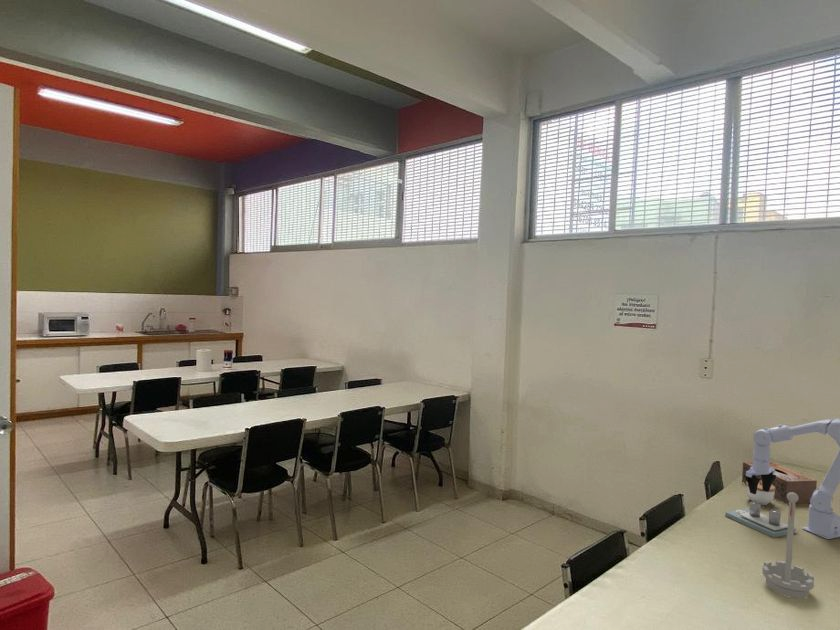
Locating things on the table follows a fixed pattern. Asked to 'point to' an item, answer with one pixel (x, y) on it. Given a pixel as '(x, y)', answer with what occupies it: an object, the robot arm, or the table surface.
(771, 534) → the scale
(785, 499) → the tissue box cover
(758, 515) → the cylinder
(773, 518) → the cylinder
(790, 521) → the flag stand
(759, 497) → the lidded jar
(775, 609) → the table surface
